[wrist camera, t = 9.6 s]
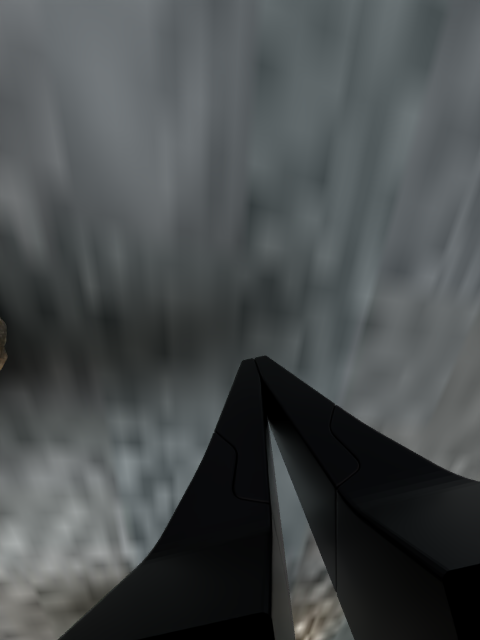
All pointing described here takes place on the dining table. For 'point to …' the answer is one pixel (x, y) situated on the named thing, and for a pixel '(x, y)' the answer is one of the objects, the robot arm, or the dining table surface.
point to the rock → (2, 343)
